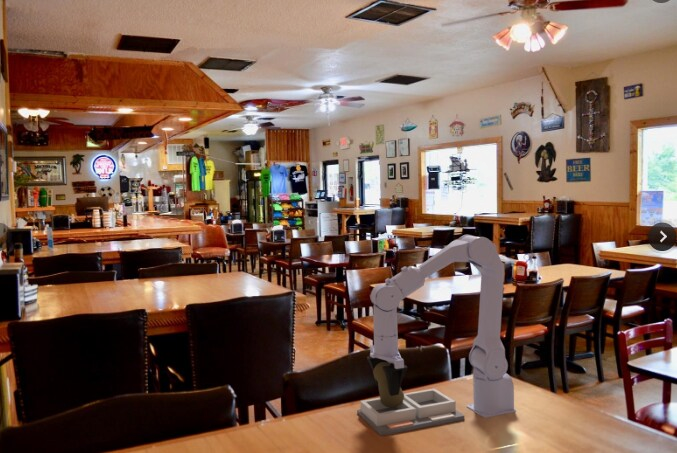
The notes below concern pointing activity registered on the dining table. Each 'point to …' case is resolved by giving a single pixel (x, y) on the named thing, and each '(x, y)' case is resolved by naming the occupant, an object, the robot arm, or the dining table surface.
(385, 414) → the caddy
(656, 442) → the dining table surface
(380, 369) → the cork
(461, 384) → the dining table surface
